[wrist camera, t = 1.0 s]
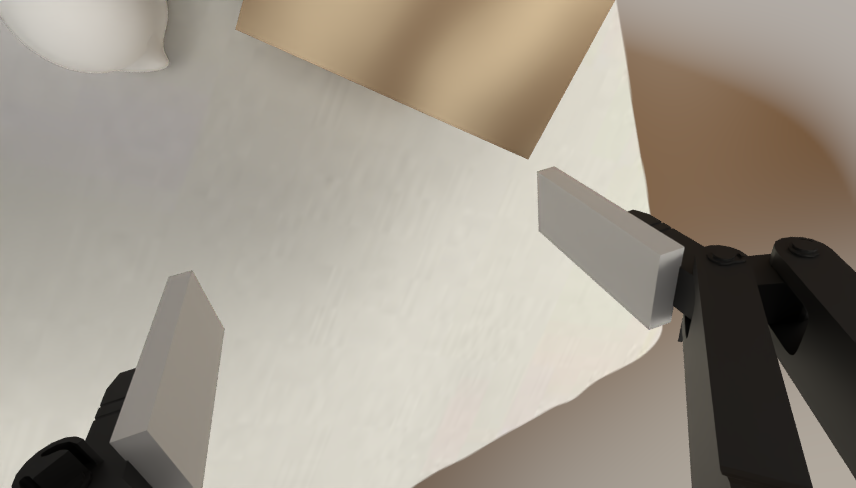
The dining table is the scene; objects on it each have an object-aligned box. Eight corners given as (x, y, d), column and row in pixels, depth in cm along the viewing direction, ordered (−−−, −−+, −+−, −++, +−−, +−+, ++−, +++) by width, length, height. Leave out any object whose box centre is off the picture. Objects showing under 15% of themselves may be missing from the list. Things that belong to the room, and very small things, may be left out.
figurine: (188, 69, 31) (141, 103, 21) (56, 48, 29) (-69, 76, 18) (183, -49, 28) (125, -75, 18) (35, -83, 26) (-129, -136, 15)
